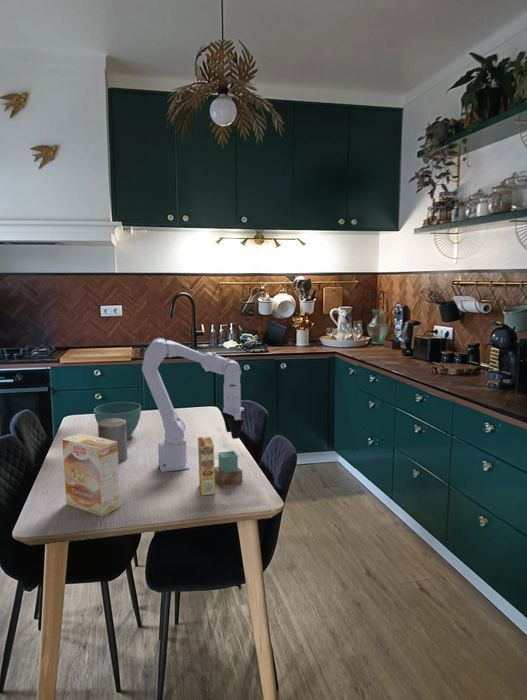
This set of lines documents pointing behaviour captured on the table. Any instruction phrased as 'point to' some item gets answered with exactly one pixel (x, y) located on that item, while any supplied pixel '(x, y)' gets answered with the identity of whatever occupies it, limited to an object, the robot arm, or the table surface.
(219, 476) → the block
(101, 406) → the green bowl
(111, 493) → the coffeecake box
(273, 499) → the table surface
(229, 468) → the teal cube
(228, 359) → the robot arm
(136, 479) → the table surface
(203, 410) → the table surface
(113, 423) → the pillar candle
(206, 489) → the candy box
